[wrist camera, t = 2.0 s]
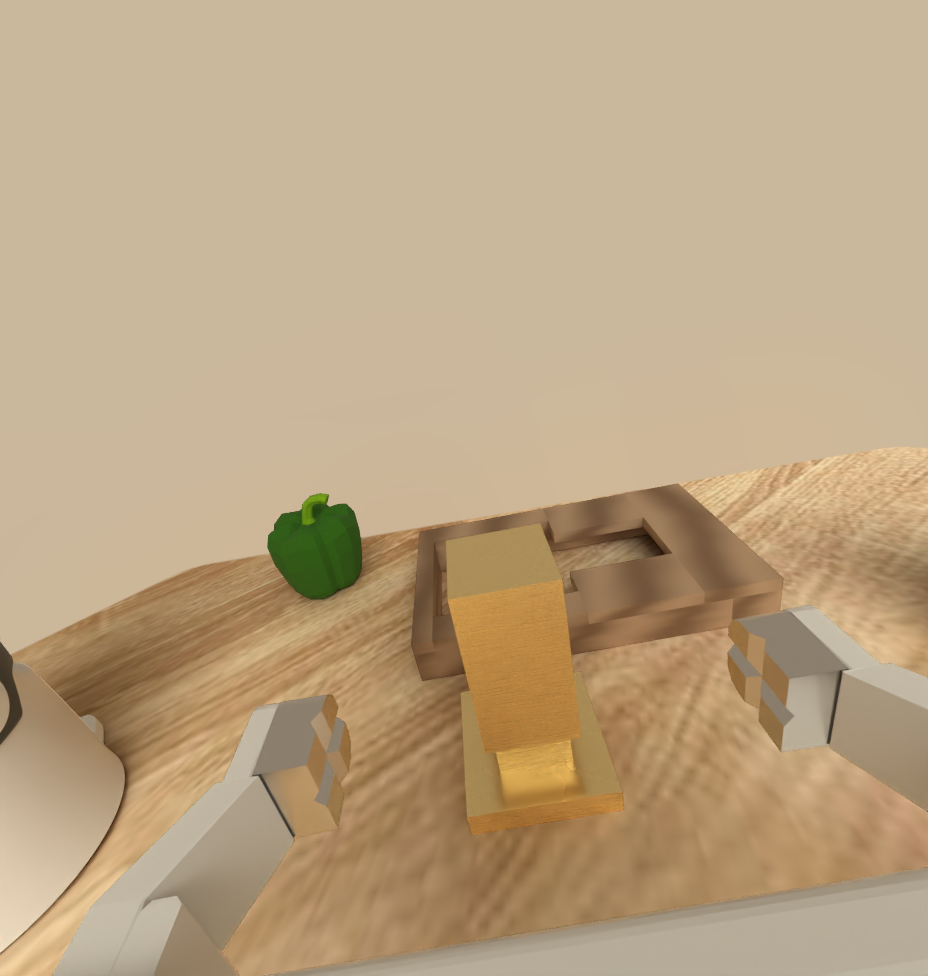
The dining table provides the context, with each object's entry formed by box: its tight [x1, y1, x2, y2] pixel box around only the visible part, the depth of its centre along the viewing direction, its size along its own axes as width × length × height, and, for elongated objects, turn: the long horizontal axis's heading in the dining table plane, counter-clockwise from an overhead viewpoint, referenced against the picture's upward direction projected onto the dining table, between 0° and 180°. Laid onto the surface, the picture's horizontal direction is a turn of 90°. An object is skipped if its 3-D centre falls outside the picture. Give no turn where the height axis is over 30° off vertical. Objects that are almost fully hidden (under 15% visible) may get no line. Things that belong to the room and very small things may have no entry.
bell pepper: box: [268, 493, 362, 599], centre depth 47 cm, size 8×8×10 cm
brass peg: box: [446, 523, 624, 835], centre depth 26 cm, size 8×8×14 cm
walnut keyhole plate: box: [411, 484, 784, 681], centre depth 41 cm, size 26×16×4 cm, turn 93°
